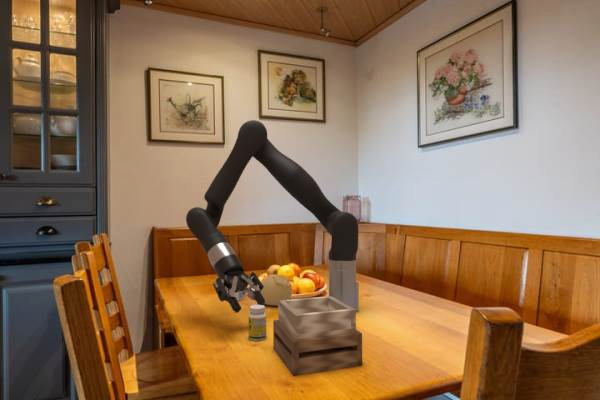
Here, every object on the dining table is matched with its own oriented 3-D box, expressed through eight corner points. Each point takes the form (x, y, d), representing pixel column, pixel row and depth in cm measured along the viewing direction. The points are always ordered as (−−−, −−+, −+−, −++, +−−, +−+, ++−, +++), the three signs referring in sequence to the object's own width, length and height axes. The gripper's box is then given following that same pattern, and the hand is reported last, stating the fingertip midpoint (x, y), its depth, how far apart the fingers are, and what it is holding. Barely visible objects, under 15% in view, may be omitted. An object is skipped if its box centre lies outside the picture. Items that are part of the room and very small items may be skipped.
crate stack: (332, 341, 100) (332, 295, 100) (362, 365, 84) (362, 310, 85) (273, 348, 94) (273, 300, 95) (293, 375, 79) (293, 317, 80)
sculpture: (291, 308, 132) (291, 277, 132) (256, 308, 132) (256, 277, 133) (292, 300, 144) (292, 271, 144) (260, 300, 144) (260, 271, 144)
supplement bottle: (248, 335, 104) (248, 304, 105) (266, 334, 105) (266, 304, 105) (248, 341, 100) (248, 309, 100) (266, 340, 100) (266, 308, 100)
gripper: (210, 255, 105) (237, 304, 97) (249, 251, 116) (276, 295, 108) (198, 272, 108) (224, 321, 100) (238, 267, 119) (263, 310, 111)
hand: (251, 307), depth 104 cm, fingers open, 8 cm apart
